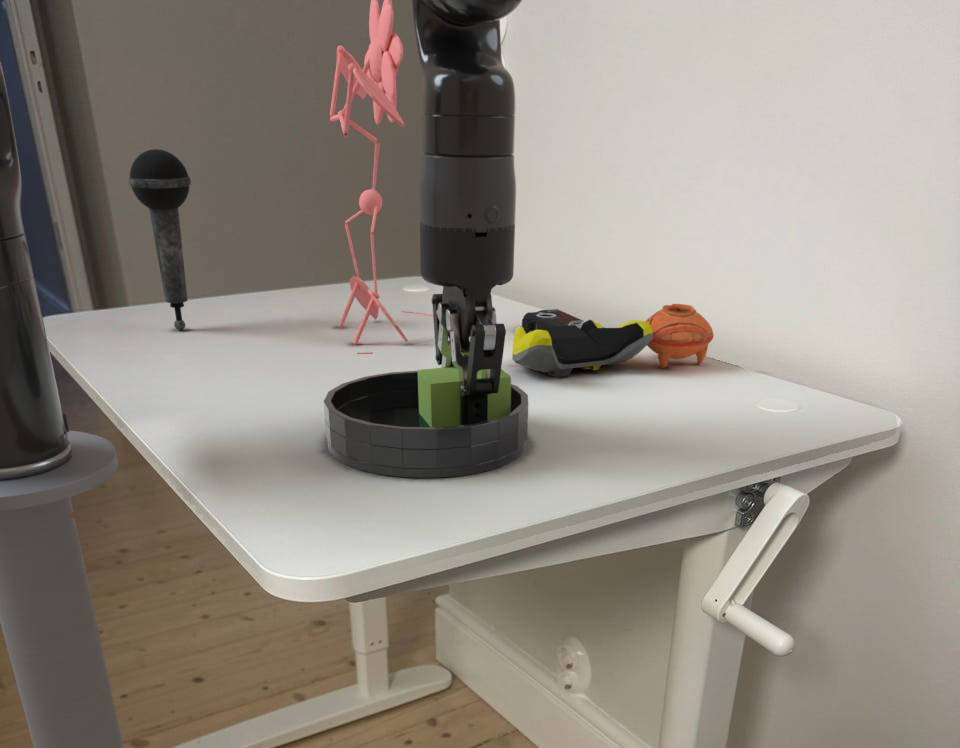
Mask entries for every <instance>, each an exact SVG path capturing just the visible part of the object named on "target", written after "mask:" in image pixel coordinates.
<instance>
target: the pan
mask: <svg viewBox="0 0 960 748" xmlns="http://www.w3.org/2000/svg"><path fill="white" fill-rule="evenodd" d="M323 411H324V412H323V413H324V427H325V428H324V429H325V438H326V439H327V448H328V451H329V453H330V454H331V456H332V457H333V458H335V459H336V460H337V461H339V462H340V463H343V464H344V465H346V466H349V467H351V468H354V469H357V470H360V471H363V472H368V473H371V474H376V475H382V476H389V477H397V478H411V479H436V478H437V479H439V478H440V479H441V478H451V477H454V478H455V477H460V476H468V475H469V476H470V475H474V474H480V473H484V472H489V471H492V470H494V469H498V468H501V467H503V466H507V465H509V464H511V463H512V462H514V461H515V460H517V459H518V458H520V457H521V456H522V455H523V453H524V452H526V451H525V450H526V448H527V441H528V430H529V429H528V427H529V426H528V424H529V395H528V393H526V392H525V391H524V390H522V388H521V387H519V386H518V385H516V384H513V383H511V413H509V414H506V415H504V416H501V417H499V418H496V419H494V420H489V421H484V422H479V423H474V424H469V425H460V426H448V427H420V424H419V397H418V370H409V371H408V370H406V371H393V372H386V373H377V374H373V375H366V376H363V377H359V378H356V379H352V380H349V381H346V382H343V383H341V384H339V385H338V386H336V387H334V388H332V389H331V390H329V391H328V392H327V394H326V395H325V398H324V399H323Z"/></svg>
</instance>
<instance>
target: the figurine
mask: <svg viewBox="0 0 960 748" xmlns="http://www.w3.org/2000/svg"><path fill="white" fill-rule="evenodd" d="M394 13H395V12H394V9H393V0H383V2H382V6H381V9H380V4H379V0H370V4H369V16H368V17H369V20H368V27H369V28H368V29H369V30H368V31H369V32H368V34H369V41H370V43H369V45H368V49H367V51H366V53H365V56H364V60H363V61H364V62H363V64H364V65H363V67H361V65H360V64H359V62H358V61H357V59H356V58H355V57H354V55H352V54H351V53H350V52H348V50H347V49H345V47H344V45H342V44H341V45H338V46H337V48H336V52H335V57H336V66H335V71H334V80H333V89H332V96H331V104H330V111H329V121H330V122H332V123H333V122H336V121H339V123H340V127H341V131H342V134H343V136H344V138H347V137H349V130H350V128H349V127H350V126H351V127H353V128H354V129H355V130H356V131H357V132H359V133H361V134H362V135H363V136H364V137H366V138H367V139H368V140H369V141H371V142H372V143H374V155H373V156H374V157H373V173H372V188H370V189H366V190H364V191H362V192H361V194H360V196H359V199H358V205H359V208H360V210H359V211H357V212H356V213H355V214H353V215H351V217H349V218H347V219H346V220H345V221H344V228H345V231H346V236H347V240H348V241H347V242H348V246H349V249H350V253H351V257H352V262H353V266H354V270H355V275H356V276H355V275H353V276H351V277H350V279H349V285H350V291H351V293H350V296H349V297H348V301H347V303H346V305H345V307H344V310H343V313H342V314H341V317H340V320H339V322H338V327H340V328H343V327H344V325H345V322H346V320H347V317H348V315H349V313H350V310H351V308H352V305H353V302H354V300H355V299H356V300H357V302H358V303H359V304H360V306H361V307H362V308H363V309H364V310H365V312H364V314H363V317H362V319H361V322H360V324H359V327H358V329H357V332H356V334H355V336H354V339H353V341H352V343H353V344H355V345H358V343H359V341H360V339H361V336H362V334H363V331H364V329H365V327H366V324H367V322H368V319H369V317H372V318H373V319H374V320H377V319H378V317H379V312H380V311H379V310H381V312H382V313H383V314H384V316H385V318H387V320H388V321H389V322H390V324H391V325H392V326H393V328H394V329H395V330H396V331H397V332H398V334H399V335H400V337H401V338H402V339H403V340H404V342H405V343H407V342H409V340H408V338H407V337H406V336H405V334H404V333H403V332H402V330H401V329H400V327H399V326H398V324H397V322H396V321H395V320H394V319H393V317H392V316H391V315H390V313H389V312H388V311H387V309H386V308H385V307H384V305H383V304H382V303H381V301H380V300H379V299H380V298H381V297H380V295H379V293H378V282H377V267H376V266H377V263H376V250H375V236H374V235H375V234H374V233H375V227H376V222H377V221H376V220H377V215H378V213H379V212H380V211H381V209H382V207H383V198H382V195H381V194H380V193H379V192H378V190H376V187H377V177H378V169H379V168H378V167H379V159H380V158H379V157H380V146H381V143H380V142H378V138H377V137H375V136H374V135H373V134H371V133H370V132H369V131H367V130H365V129H364V128H363V127H361V126H360V125H358V124H357V123H356V122H354V121H353V120H351V119H350V118H351V109H352V108H351V107H352V103H353V101H354V99H355V97H356V95H358V97H360V98H361V100H362V101H364V100H365V98H366V96H367V95H368V96H369V97H370V99H371V100H372V104H373V105H372V106H373V118H374V122H375V124H376V125H380V124H381V122H382V119H383V116H384V113H385V114H386V115H387V119H388V120H389V122H390V124H394V123H397V124H398V126H400V127H401V128H402V129H404V128H405V127H406V124H405V122H404V120H403V118H402V117H401V115H400V113H399V112H398V110H397V104H398V102H397V101H398V95H397V76H398V73H399V68H400V66H401V65H402V62H403V59H404V46H403V43H402V40H401V38H400V37H399V35H398V34H397V33H395V32H393V27H394V20H395V14H394ZM341 74H342V76H343V78H344V79H345V81H346V82H347V92H346V100H345V104H344V106H343V109H340V110H339V111H338V112H337V114H336V107H337V99H338V93H339V83H340V77H341ZM363 213H365V214H367V215H369V216H372V221H371V226H370V247H371V259H372V260H371V261H372V273H373V287H374V288H373V289H374V292H373V291H372V290H371V289H370V287H369V285H367V283H366V282H365V281H364V280H362V279H361V277H360V272H359V268H358V263H357V259H356V254H355V250H354V246H353V240H352V237H351V232H350V227H349V223H350V222H352V221H353V220H354V219H356V218H357V217H359V216H360V215H362V214H363ZM401 313H404V314H415V315H422V316H428V317H432V318H433V313H432V314H431V313H430V314H429V313H428V314H427V313H421V312H415V311H403V310H401ZM356 355H373V352H356Z"/></svg>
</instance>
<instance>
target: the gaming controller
mask: <svg viewBox="0 0 960 748" xmlns="http://www.w3.org/2000/svg"><path fill="white" fill-rule="evenodd" d="M583 321H584V322H582V326H581V328H578V327H577V326H576V325H569V326H558V327H548V328H540V329H539V330H534V331H529V329H528V328H525V327H522V325H520V326H517V327H516V329H515V332H514V335H513V340H512V361H513V362H514V363H516V364H517V365H519V366H521V367H525V368H528V369H530V370H533V371H536V372H542V373H547V375H548V376H552V377H566V376H569V375H570V374H571V372H572V371H573V369H576V368H581V369H583V370H591V371H599V369H600V368H601V366H610V365H611V366H612V365H617V364H621V363H624V362H628V361H630V360H631V359H633V358H634V357H636V356H637V355H638V354H640V353H641V352H642V351H643V350H644V349H645V348H646V347H648V346H647V345H648V344H649V343H650V342H651V341H652V340H653V335H652V329H651V327H650V324H649V322H645V321H646V320H637V319H636V320H635V319H634V320H633V319H632V320H630V321H628V322H625V323H623V324H621V325H619V326H617V327H604V326H602V325H601V324H600V322H597V321H595V320H592V319H587V320H583Z"/></svg>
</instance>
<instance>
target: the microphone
mask: <svg viewBox="0 0 960 748" xmlns="http://www.w3.org/2000/svg"><path fill="white" fill-rule="evenodd" d="M191 181H192V180H191V177H190V176H189V173H188V171H187V168H186V167H185V165H184V164H183V162H182V161H181V160H180V159H179V158H178V157H177V156H176V155H175V154H172V153H171V152H169V151H167V150H163V149H157V148H156V149H155V148H154V149H149V150H145V151H143V152H142V153H140V154H139V155H138V156H137V157H136V158H135V159H134V161H133V163H132V164H131V166H130V171H129V177H128V184H129V186H130V187H131V190H132V192H133V194H134V196H135V197H136V199H137V200H138V201H139V202H140V203H141V204H142V205H143V206H145V207H146V208H148V210H149V215H150V223H151V228H152V233H153V239H154V243H155V249H156V256H157V261H158V267H159V273H160V277H161V284H162V289H163V295H164V301H165V302H166V303H167V304H169V307H170V308H172V309H173V308H174V314H175V320H174V323H173V325H174V328H175V329H176V330H178V331H183V330H184V329H185V328H186V322H185V321H184V320H183V315H182V308H183V307H185V303H186V302H188V292H187V291H188V290H187V282H186V273H185V272H186V271H185V262H184V251H183V243H182V232H181V231H182V230H181V223H180V213H179V208H180V207H181V206H182V205H183V204H184V202H186V199H187V197H188V195H189V192H190V186H191V183H192V182H191Z"/></svg>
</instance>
